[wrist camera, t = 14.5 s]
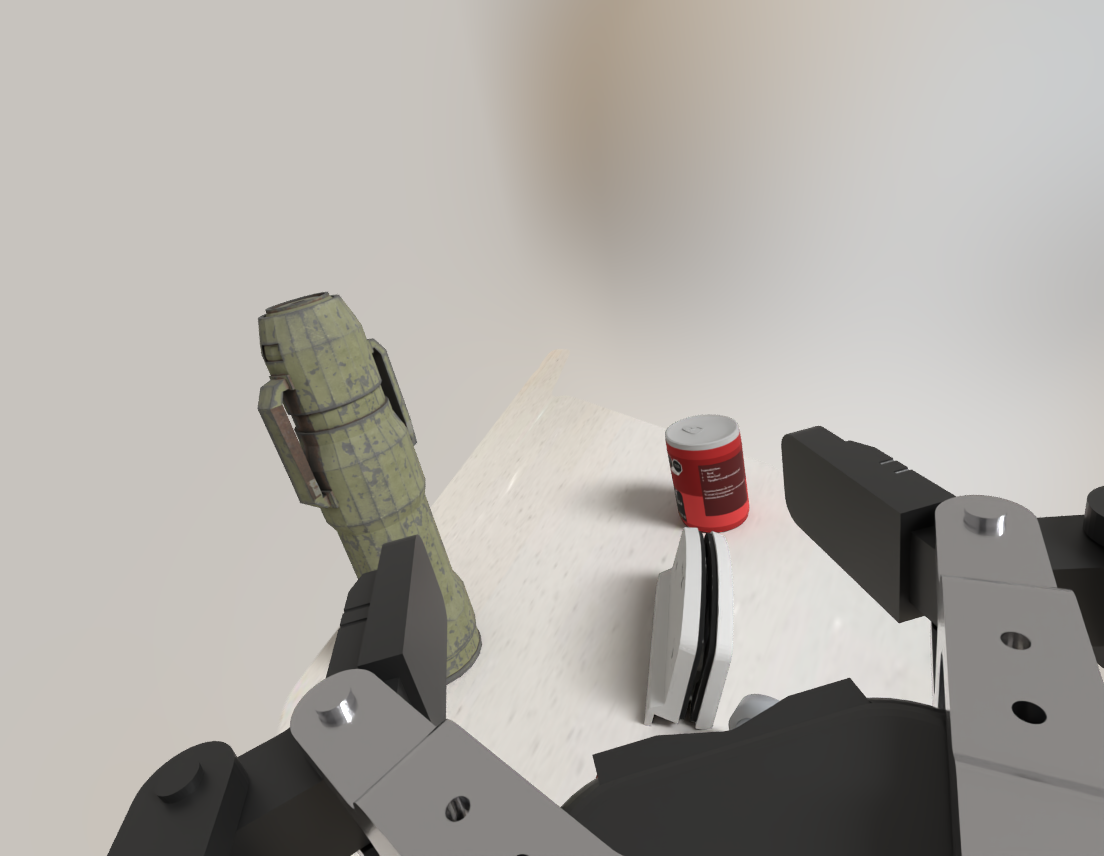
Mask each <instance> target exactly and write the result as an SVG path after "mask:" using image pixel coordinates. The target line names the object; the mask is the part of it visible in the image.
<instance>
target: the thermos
mask: <svg viewBox="0 0 1104 856" xmlns="http://www.w3.org/2000/svg"><path fill="white" fill-rule="evenodd" d="M266 313H267V314H265V315H262V316H260V317H259V318H258V323H259V336H260V347H261V354H262V357H263V359H264V361H265V364H266V366H267V368H268V370H269V373H270V375H271V376H269V377H270V381H269V382H267V383H266V384H265V385H264V386H262V387H261V388H260V395H259V402H258V411H259V413H260V415H261V417H262V419H263V421H264V424H265V426H266V428H267V430H268V432H269V434H270V437H271V439H272V441H273V443H274V445H275V447H276V450H277V452H278V454H279V456H280V458H281V461H282V463H283V465H284V467H285V469H286V472H287V474H288V476H289V478H290V480H291V482H292V485H293V487H294V489H295V492H296V494H297V496H298V498H299V501H300V503H303V504H307V505H311V506H315V507H319V508H321V511H322V513H323V515H324V518H325V519H326V522H327V523H328V524H329V525H330V526H332V527H333V528H334V529H335V530H336V531H337V532H338V534H339V537H340V539H341V541H342V543H343V546H344V548H345V550H346V552H347V555H348V557H349V559H350V562H351V564H352V566H353V569H354V571H355V573H356V575H357V578H358V579H359V578H360V577H361V575H362V574H363V573H367V572H370V571H374V570H377V568H378V563H379V558H380V553H381V548H382V545H383V544H384V543H387V542H391V541H394V540H398V539H402V538H405V537H409V536H413V535H416V534H418V535H420V537H421V539H422V541H423V543H424V546H425V548H426V551H427V554H428V557H429V559H430V562H431V565H432V568H433V570H434V573H435V576H436V579H437V581H438V584H439V587H440V590H441V592H442V595H443V599H444V603H445V608H446V614H447V673H446V685H447V684H449V683H451V682H452V681H454V680H456V679H457V678H459V677H461V676H462V675H463V674H464V673H465V672H466V671H467V670H468V669H469V668H470V667H471V666H472V665H473V664H474V662H475V661H476V659H477V658H478V656H479V654H480V650H481V646H482V641H481V635H480V632H479V630H478V629H477V626H476V620H475V614H474V611H473V608H472V605H471V602H470V600H469V597H468V594H467V591H466V589H465V586H464V583H463V581H462V580H461V579H460V577H459V576H458V575H457V574H456V573H455V572H454V571H453V570H452V567H451V565H450V562H449V559H448V556H447V554H446V551H445V548H444V545H443V543H442V540H441V537H440V534H439V532H438V529H437V526H436V523H435V521H434V518H433V515H432V512H431V510H430V507H429V504H428V501H427V499H426V496H425V477H424V474H423V471H422V469H421V466H420V463H419V460H418V457H417V455H416V452H415V449H414V445H415V444H416V443H417V441H416V437H415V433H414V430H413V426H412V422H411V419H410V416H409V413H408V410H407V408H406V405H405V402H404V399H403V396H402V394H401V391H400V388H399V385H398V382H397V379H396V377H395V374H394V371H393V368H392V365H391V362H390V360H389V357H388V354H387V351H386V349H385V348H384V347H382V346H381V345H380V344H379V343H378V342H377V341H376V340H374V339H366V336H365V333H364V331H363V328H362V325H361V323H360V322H359V321H358V319H357V318H356V316H355V315H354V314H353V312H352V311H351V310H350V308H349V307H348V306H347V305H346V303H345V302H344V301H343V300H342V298H341V297H340V296H339V295H329V293H328V292H321V293H317V294H312V295H308V296H304V297H300V298H297V299H294V300H290V301H287V302H284V303H280V304H278V305H275V306H272V307H270V308H267V309H266ZM282 403H283V404H284V407H285V409H286V411H287V413H288V415H291V416H292V418H293V421H294V423H295V425H296V427H295V429H294V430H295V432H296V435H297V437H298V439H299V441H298V439H297V437H296V435H295V433H294V430H293V428H292V426H291V423H290V421H289V419H288V416H287V414H286V412H285V410H284V407H283V405H282ZM299 443H300V444H299Z"/></svg>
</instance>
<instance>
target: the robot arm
mask: <svg viewBox="0 0 1104 856" xmlns="http://www.w3.org/2000/svg"><path fill="white" fill-rule="evenodd" d="M781 448H782V462H783V475H784V489H785V499H786V504H787V507H788V510H789V512H790V515H791V517H792V518H793V520H794V522H795V523H796V524H797V525H798V526H799V527H800V528H801V529H802V530H803V531H804V532H805V533H806V534H807V535H808V536H809V537H810V538H811V539H812V540H813V541H814V542H815V543H816V544H817V545H818V546H819V547H821V548H822V549H823V550H824V551H825V552H826V553H827V554H828V555H829V556H830V557H831V558H832V559H833V560H834V561H835V562H836V563H837V564H838V565H839V566H840V567H841V568H842V569H843V570H844V571H845V572H846V573H847V574H849V575H850V576H851V577H852V578H853V579H854V580H855V581H856V582H857V583H858V584H859V585H860V586H861V587H862V588H863V589H864V590H865V591H866V592H867V593H868V594H869V595H870V596H871V597H872V598H873V599H874V600H875V601H877V602H878V603H879V604H880V605H881V606H882V607H883V608H884V609H885V610H886V611H887V612H888V613H889V614H890V615H891V616H892V617H893V618H894V619H895V620H896V621H897V622H898V623H902V622H905V621H908V620H912V619H915V618H919V617H922V616H926V617H927V618H928V619H929V620H930V621H931V630H930V645H931V675H932V705H933V706H930V705H926V704H922V703H917V702H913V701H908V700H900V699H893V698H866V697H865V696H864V694H863V693H862V692H861V691H860V689H859V688H858V687H857V686H856V685H855V683H854V682H853V681H852V680H851V678H847V679H844V680H841V681H837V682H834V683H831V684H827V685H824V686H821V687H817V688H814V689H811V690H807V691H804V692H801V693H797V694H794V695H791V696H788V697H786V698H784V699H783V700H781V701H779V702H778V703H776V704H774V705H773V706H771V707H769V708H768V709H766V710H765V711H763V712H761V713H760V714H758V715H756V716H755V717H753V718H751V719H750V720H748V721H747V722H745V723H743V724H742V725H740V726H738V727H737V728H735V729H733V730H729V731H724V732H708V733H691V734H675V735H658V736H654V737H650V738H647V739H644V740H640V741H637V742H634V743H630V744H627V745H624V746H620V747H617V748H614V749H610V750H607V751H604V752H600V753H597V754H594V755H593V759H594V763H595V767H596V772H597V776H598V778H596V779H594V780H593V781H591V782H590V783H588V784H586V785H585V786H584V787H582V788H581V789H580V790H579V791H577V792H576V793H575V794H574V795H572V796H571V797H570V798H569V799H568V800H567V801H566V802H565V803H564V804H563V805H562V806H561V807H559V806H558V805H557V804H555V803H554V802H553V801H552V800H550V799H549V798H548V797H547V796H545V795H544V794H543V793H542V792H541V791H539V790H538V789H537V788H536V787H534V786H533V785H532V784H531V783H529V782H528V781H527V780H526V779H524V778H523V777H522V776H521V775H519V774H518V773H517V772H516V771H515V770H513V769H512V768H511V767H510V766H508V765H507V764H506V763H505V762H503V761H502V760H501V759H500V758H498V757H497V756H496V755H495V754H493V753H492V752H491V751H490V750H489V749H487V748H486V747H485V746H484V745H482V744H481V743H480V742H479V741H477V740H476V739H475V738H474V737H472V736H471V735H470V734H469V733H467V732H466V731H465V730H464V729H463V728H461V727H460V726H459V725H457V724H456V723H455V722H453V721H451V720H449V719H446V673H447V614H446V608H445V603H444V599H443V595H442V592H441V590H440V587H439V584H438V581H437V579H436V576H435V573H434V570H433V568H432V565H431V562H430V559H429V557H428V554H427V551H426V548H425V546H424V543H423V541H422V539H421V537H420V535H418V534H416V535H413V536H409V537H405V538H402V539H398V540H394V541H391V542H387V543H384V544H383V545H382V548H381V553H380V558H379V563H378V568H377V570H374V571H370V572H367V573H363V574H362V575H361V577H360V578H359V579H358V581H357V582H356V583H355V585H354V586H353V587H352V588H351V590H350V591H349V593H348V597H347V600H346V604H345V608H344V614H343V615H342V619H341V623H340V629H339V630H338V634H337V638H336V641H335V645H334V649H333V653H332V657H331V660H330V664H329V668H328V672H327V675H326V679H324V680H323V681H321V682H320V683H318V684H317V685H315V686H314V687H313V688H312V689H311V690H309V691H308V692H307V693H306V694H305V695H304V697H303V698H302V699H301V700H300V701H299V703H298V704H297V706H296V708H295V709H294V712H293V714H292V717H291V721H290V728H289V729H287V730H286V731H284V732H283V733H281V734H279V735H277V736H276V737H274V738H272V739H270V740H268V741H267V742H265V743H263V744H261V745H259V746H257V747H256V748H254V749H252V750H250V751H248V752H246V753H245V754H243V755H241V756H239V757H237V756H236V754H235V753H234V751H233V750H232V748H231V747H230V746H229V745H228V744H226V743H224V742H219V741H212V742H205V743H202V744H199V745H196V746H193V747H191V748H189V749H187V750H185V751H183V752H181V753H180V754H178V755H176V756H175V757H173V758H172V759H170V760H169V761H168V762H166V763H165V764H164V765H163V766H161V767H160V768H159V769H158V770H157V771H156V772H155V773H154V774H153V775H152V776H151V777H150V778H149V779H148V780H147V781H146V783H145V784H144V785H143V786H142V787H141V789H140V790H139V792H138V793H137V795H136V797H135V798H134V800H133V802H132V804H131V806H130V808H129V811H128V813H127V815H126V817H125V819H124V821H123V823H122V825H121V827H120V830H119V832H118V834H117V836H116V838H115V840H114V842H113V844H112V846H111V849H110V851H109V853H108V855H107V856H351V855H352V854H354V853H355V852H358V854H359V855H360V856H1104V683H1103V680H1102V677H1101V674H1100V671H1099V668H1098V665H1097V664H1099V665H1100V666H1101V667H1103V668H1104V486H1102V487H1098V488H1096V489H1094V490H1093V491H1091V492H1090V493H1089V495H1088V497H1087V503H1086V509H1085V515H1073V516H1058V517H1044V518H1036V516H1035V515H1034V514H1033V513H1032V512H1031V511H1030V510H1028V509H1027V508H1025V507H1023V506H1022V505H1019V504H1017V503H1015V502H1012V501H1009V500H1006V499H1002V498H998V497H992V496H984V495H967V496H966V495H965V496H959V497H956V496H954V495H953V494H951V493H950V492H948V491H946V490H944V489H943V488H941V487H939V486H938V485H936V484H935V483H933V482H931V481H930V480H928V479H926V478H925V477H923V476H921V475H920V474H918V473H916V472H915V471H913V470H908V468H907V467H906V466H904V465H903V464H901V463H900V462H898V461H894V460H893V458H891V457H890V456H888V455H886V454H884V453H883V452H881V451H880V450H878V449H877V448H875V447H871V446H868V445H864V444H861V443H857V442H854V441H844V440H843V439H841V438H839V437H838V436H836V435H835V434H833V433H831V432H830V431H828V430H827V429H825V428H824V427H821V426H815V427H812V428H808V429H805V430H801V431H797V432H794V433H790V434H786V435H785V436H784V437H783V439H782V444H781Z"/></svg>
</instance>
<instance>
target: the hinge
mask: <svg viewBox="0 0 1104 856" xmlns="http://www.w3.org/2000/svg"><path fill="white" fill-rule="evenodd" d="M733 630H734V593H733V574H732V564H731V557H730V551H729V547H728V543H727V540H726V538H725V536H723V535H721V534H718V533H716V532H714V531H711V533H706V535H705V537H704V538H703V534H702V532H700V531H698V528H689V527H684V528H683V531H682V535H681V538H680V542H679V546H678V550H677V553H676V557H675V561H674V564H673V567H672V568H671V569H669V570H666V571H664V572H661V573H660V574H659V578H658V582H657V586H656V596H655V607H654V618H653V629H652V641H651V652H650V663H649V674H648V685H647V697H646V708H645V719H644V725H646V726H651V723H652V720H653V716H654V714H655V715H657V716H660V717H662V718H665V719H667V720H669V721H672V722H674V723H677V724H678V720H679V718H680V719H684V718H685V715H686V711H687V707H688V703H689V700H690V701H691V718H690V721H692V722H695V728H696V729H710V728H712V727H713V723H714V719H715V716H716V712H717V709H718V705H719V702H720V698H721V695H722V691H723V688H724V684H725V680H726V677H727V673H728V670H729V666H730V663H731V659H732V652H733Z"/></svg>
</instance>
